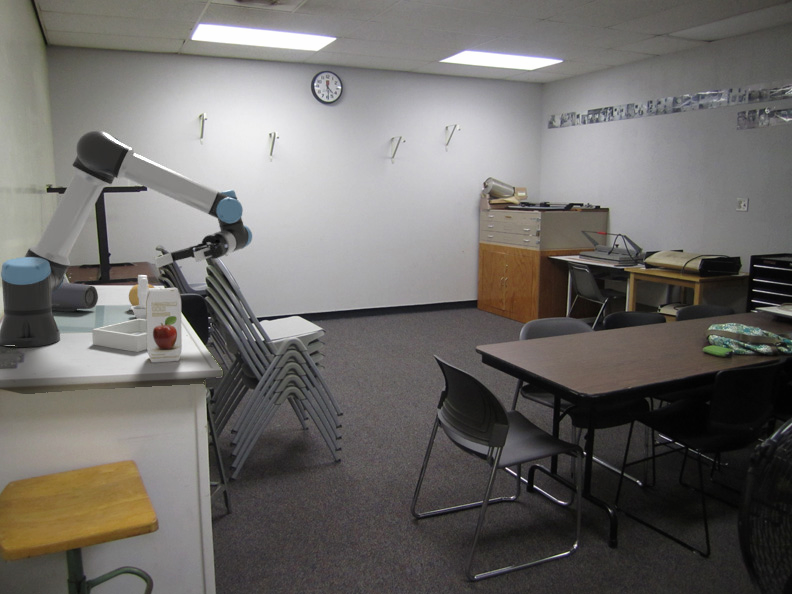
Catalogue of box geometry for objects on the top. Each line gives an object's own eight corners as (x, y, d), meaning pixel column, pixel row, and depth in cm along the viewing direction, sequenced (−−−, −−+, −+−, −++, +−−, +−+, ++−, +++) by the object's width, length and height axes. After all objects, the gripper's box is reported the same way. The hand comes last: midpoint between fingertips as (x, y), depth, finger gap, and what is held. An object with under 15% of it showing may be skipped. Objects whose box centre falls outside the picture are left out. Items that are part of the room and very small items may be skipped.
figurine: (152, 314, 216) (151, 273, 213) (156, 319, 208) (155, 276, 205) (130, 315, 212) (129, 273, 210) (133, 320, 204) (132, 277, 202)
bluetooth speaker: (99, 309, 219) (98, 282, 218) (84, 314, 210) (83, 286, 209) (41, 305, 222) (39, 278, 220) (23, 310, 212) (21, 282, 211)
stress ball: (157, 311, 221) (157, 284, 219) (128, 312, 217) (127, 285, 215) (157, 306, 230) (157, 280, 228) (129, 307, 226) (128, 281, 225)
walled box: (137, 352, 166) (136, 336, 166) (92, 344, 172) (92, 329, 171) (181, 338, 183) (181, 324, 182) (139, 332, 188) (139, 318, 188)
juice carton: (146, 356, 162) (145, 287, 159) (179, 354, 166) (179, 286, 163) (147, 364, 156) (146, 291, 152) (182, 361, 159) (182, 291, 156)
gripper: (255, 251, 185) (216, 267, 166) (188, 261, 194) (144, 277, 174) (249, 227, 184) (209, 241, 164) (182, 238, 192) (137, 252, 173)
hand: (175, 260), depth 169 cm, fingers open, 13 cm apart
